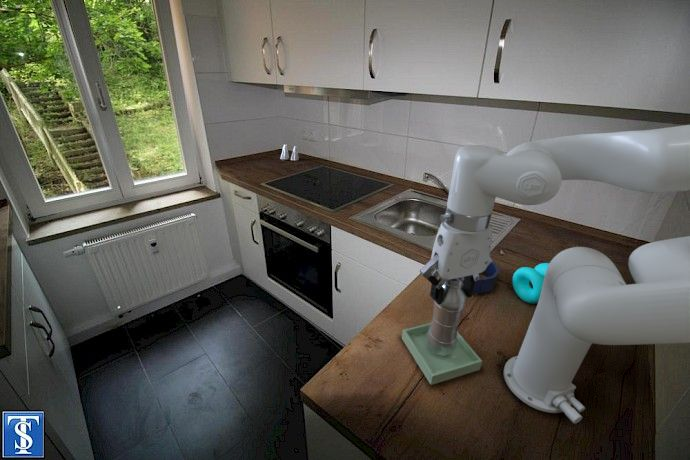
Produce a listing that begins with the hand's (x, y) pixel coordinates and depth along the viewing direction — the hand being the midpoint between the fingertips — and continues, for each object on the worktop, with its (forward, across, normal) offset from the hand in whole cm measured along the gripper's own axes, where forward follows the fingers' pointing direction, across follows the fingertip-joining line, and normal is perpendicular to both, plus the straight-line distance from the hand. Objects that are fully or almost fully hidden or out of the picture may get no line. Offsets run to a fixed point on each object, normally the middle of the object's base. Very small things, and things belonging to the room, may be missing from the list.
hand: (450, 295), depth 64 cm
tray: (+17, 0, 0) cm, 17 cm away
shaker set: (+17, -7, +171) cm, 172 cm away
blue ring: (+17, +25, +22) cm, 37 cm away
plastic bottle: (+15, 0, 0) cm, 15 cm away
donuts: (+17, +37, +9) cm, 42 cm away
